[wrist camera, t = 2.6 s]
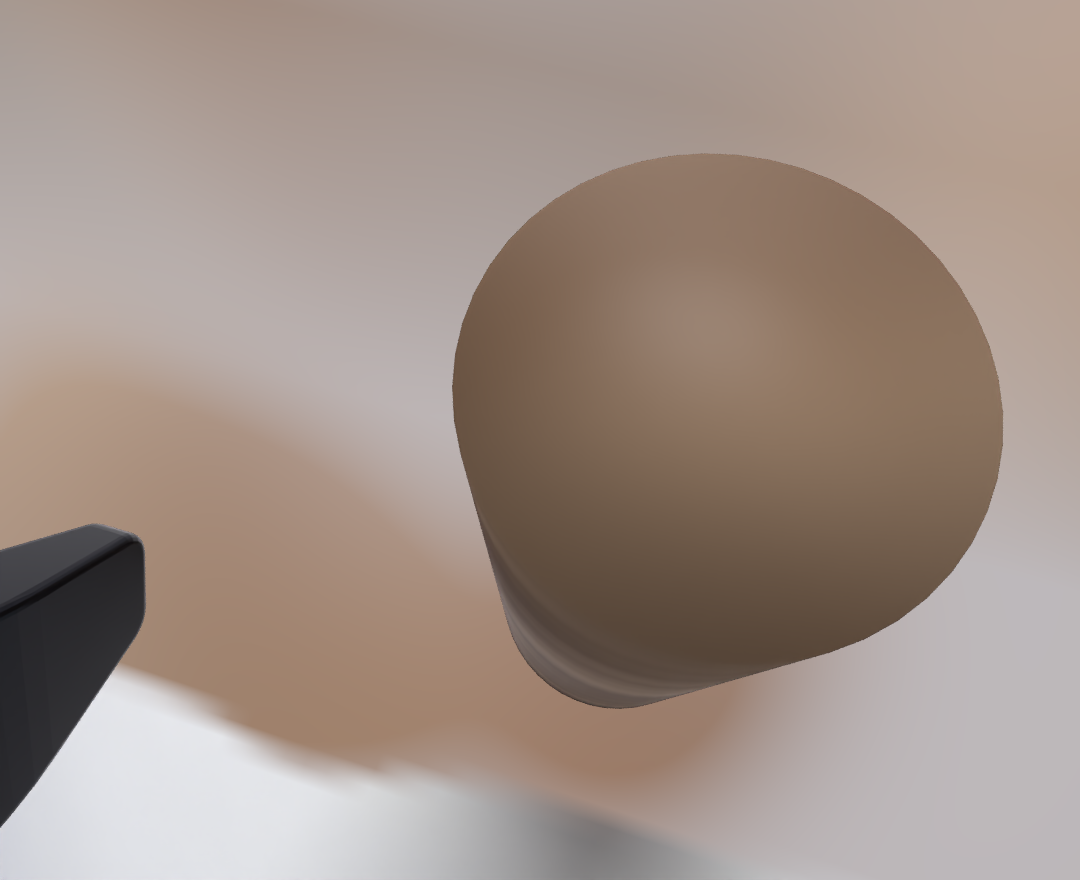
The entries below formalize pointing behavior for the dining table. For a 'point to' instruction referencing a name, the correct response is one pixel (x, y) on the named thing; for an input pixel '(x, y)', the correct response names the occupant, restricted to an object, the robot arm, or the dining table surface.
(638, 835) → the dining table surface
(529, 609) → the walnut dowel
